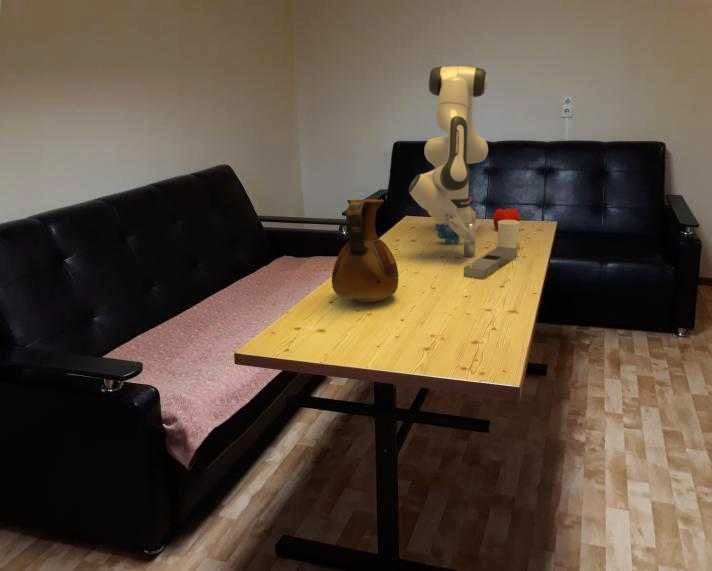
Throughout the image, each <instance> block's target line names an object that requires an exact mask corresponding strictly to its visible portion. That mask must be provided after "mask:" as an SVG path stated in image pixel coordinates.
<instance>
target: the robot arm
mask: <svg viewBox="0 0 712 571" xmlns="http://www.w3.org/2000/svg"><path fill="white" fill-rule="evenodd" d="M488 84H489V78H488V74H487V72H486V70H485V69H484V68H481V67H477V66H476V67H472V66H465V65H464V66H463V65H459V66H443V67H442V66H436V67H433V68H432V69H431V70H430V72H429V74H428V77H427V88H428V89H429V92H430V93H431V94H432V95H434V96H437V97H438V99H437V103H436V104H437V106H436V124H437V126H438V127H439V129H440V130H441V131H443V132H445V133H447V136H437V137H433V138H429V139H428V140H427V142H426V143H425V145H424V147H423V148H424V149H423V150H424V152H423V153H424V156H425V159H426V161H428V162H429V163H430V164H431V165H433V166H434V169H431V170H430V171H428V172H425V173H419V174H417V175H416V176H415V177H414V179H412V181H411V183H410V185H409V188H408V192H409V194H410V196H411V197H412V199H413V200H414V201H415V202H416V203H417V204H418V205H419V206H420V207H421V208H422V209H423V210H426V212H427V213H428V215H429V216H430V217H431V218H432V219H433V220H434V221H435V222H436V223H435V224H439V225H441V224H444V225H449V226H450V228H451V229H452V230H453V231H454V232H455V233H456V234H457V235H458V236H459V239H460V238H461V239H462V240H463V239H464V238H466V239H468V240H469V241H470V242H472V241H474V238H473V237H472V236H471V235H470V234H469V231H468V229H467V227H466V226H465V223H476V232H477V231H478V230H479V229H480V228H481V226H482V223H480V222H477V213H476V211H475V210H473V208H472V206H471V203H470V202H472V200H473V199H472V198H473V197H472V196H469V186H470V185H469V184H470V178H471V176H470V175H471V173H470V169H469V164H476V163H481V162H483V161H485V159H486V158H487V156H488V153H489V147H488V146H489V145H488V142H487V141H486V140H485V139H484V138H483V137H482V136H480V135H479V134H478V131H477V130H476V129H475V127H474V125H473V103H474V98H478V97H481V96H483V95H484V94H485V93H486V90H487V88H488ZM433 229H434V230H435V228H434V227H433Z"/></svg>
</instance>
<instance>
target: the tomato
mask: <svg viewBox="0 0 712 571" xmlns="http://www.w3.org/2000/svg"><path fill="white" fill-rule="evenodd" d="M519 212H520V211H518V209H516V208H506V209H502V208H497V209H496V210H495V211H494V214H493V219H492V220H493V226H494V228H495V229H496V230H498V221H501V220H515V221H519V222H520V220H521V218H520V213H519Z"/></svg>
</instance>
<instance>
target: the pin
mask: <svg viewBox="0 0 712 571" xmlns="http://www.w3.org/2000/svg"><path fill="white" fill-rule="evenodd" d="M476 223H477V222H476ZM476 223H465V226H466V227H467V229H468V231H469V234H470V235H471V236H472V237H473V238H474V241H472V242H470V241H469V240H468V239H466V238H463V239H464V240H463V257H465V258H474V257H475V256H476V236H477V235H476V234H477V233H476V232H477V231H476Z"/></svg>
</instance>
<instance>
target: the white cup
mask: <svg viewBox="0 0 712 571" xmlns="http://www.w3.org/2000/svg"><path fill="white" fill-rule="evenodd" d="M519 228H520V221H515V220H501V221H498V229H497V240H498V246H497V247H508V248H516V249H518V248H517V247H518V241H519V240H518V239H519V232H520V229H519Z"/></svg>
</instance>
